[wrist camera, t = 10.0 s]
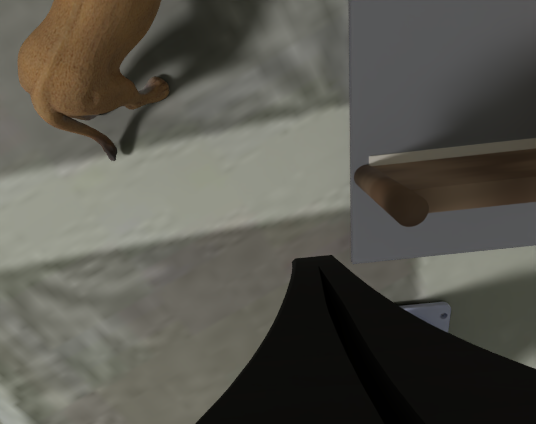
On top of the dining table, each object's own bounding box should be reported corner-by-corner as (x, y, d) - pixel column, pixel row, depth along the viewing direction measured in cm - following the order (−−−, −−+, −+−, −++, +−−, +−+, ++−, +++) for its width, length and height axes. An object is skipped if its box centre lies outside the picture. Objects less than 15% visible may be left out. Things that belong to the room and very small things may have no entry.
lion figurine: (125, -185, 13) (-138, -729, 4) (243, -124, 14) (213, -486, 5) (74, 143, 18) (-99, 184, 9) (163, 174, 18) (80, 239, 10)
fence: (590, 136, 18) (760, 157, 12) (582, 167, 18) (739, 201, 12) (353, 162, 18) (400, 195, 12) (353, 191, 18) (397, 237, 12)
